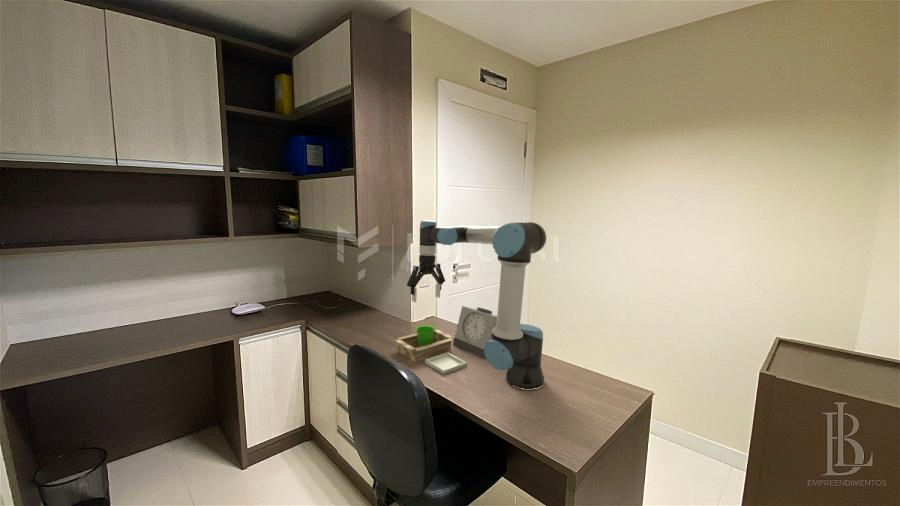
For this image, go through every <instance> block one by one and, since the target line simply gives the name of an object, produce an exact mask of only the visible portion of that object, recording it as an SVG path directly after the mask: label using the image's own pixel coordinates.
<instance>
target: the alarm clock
mask: <svg viewBox="0 0 900 506" xmlns="http://www.w3.org/2000/svg"><path fill="white" fill-rule="evenodd" d="M458 318H459V319H458V322H457V326H456V331H455V335H454V339H453V340H454V341H452V346H453V347H455V348H458V349H461V351H465V352H467V353H469V354H471V355H473V356H476V357H478V356H479V358H481V359H483V360H487V359H486V357H485V353H484V346H485V344H486V343H487V342H488V341H489V340H491V335H492V329H493V328H495V327H496V325H497V314H493V311H492V310H490V309H487V308H483V307H477V308H473V307H468V306H464V305H461V310H460V315H459V317H458Z"/></svg>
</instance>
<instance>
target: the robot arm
mask: <svg viewBox="0 0 900 506" xmlns="http://www.w3.org/2000/svg"><path fill="white" fill-rule="evenodd" d="M546 242H547V233H546V231H545V229H544V228H543V226H541V225H540V224H539V223H536V222H529V221H528V222H510V223H508V222H507V223H505V224H502V225H500V226H485V225H484V226H481V225H479V226H477V225H458V226H457V225H456V226H453V225H452V226H449V225H448V226H441V225H440V226H439V225H438V224H437V221H436V220H433V219H431V220H430V219H423V220H421V221H420V224H419V248H418V249H419V251H418V252H419V255H418V263H419V265H415V264H414V265H413V266H412V267H413V268H412V271H411V274H410V276H409V279H408V281H407V283H406V286H407V287H409V288H410V295H411V301H412V302H414V303H417V298H418V297H417V295H418V294H417V293H418V292H417V291H418V290H417V285H418V284H419V282H420V281H421V279H423V277H424V276H425V275H426V276H427V275H431V276H432V277H433V278H434V280H435V281H436V283H435V293H434V296H435V297H436V298H439V299H440V298H441V291H442V286H443V284H444V283H445V282H446V279H445V277H444V274H443V270H442V268H441V267H442V266H441V263H438V262H436V254H437V244H439V245H443V246H452V245H453V244H459V243H462V244H463V243H466V244H467V243H469V244H471V243H472V244H483V245H485V244H486V245H492V248H493V250H494V252H495V253H496V255H497V261H498V262H499V263H500V264H501V265H500V277H499V278H500V280H499V290H498V291H499V292H498V301H497V302H498V303H497V314H496V316H497V325H496V327H495V328H493V329H492V335H491V340H489V341H488V342H487V343H486V344H485V346H484V353H485V357H486V359H485V360H487V362H488V364H489V365H490V366H491V367H492V368H494V370H498V371H505V370H507V371H506V373H505V380H507V381H506V383H507V384H509V383H510V384H511V385H514V386H516V387H519V388H524V389H533V388H538V387H540V386H542V385H543V383H544V384H545V376H544V374H543V369H542V365H541V364H542V356H543V345H544V344H543V342H544V332H543V330H542V329H541V328H540V327H537V326H534V325H531V324H525V323H521V320H522V308H523V307H522V306H523V298H524V290H525V289H524V287H525V276H526V268H527V266H528V265H529V264H530V263H531V258H532V255H533V254H536V253H538V252H539V251H541V250H542V249H543V248H544V247H545V245H546ZM510 384H509V385H510ZM511 385H510V386H511ZM543 386H544V385H543Z"/></svg>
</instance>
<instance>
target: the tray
mask: <svg viewBox="0 0 900 506" xmlns="http://www.w3.org/2000/svg"><path fill="white" fill-rule="evenodd" d="M467 362H468V361H467ZM467 362H466V361H465V360H463V359H461V358H459V357H458V356H456V355H453V354H452V353H451V352H449V351H447V352H444V353H441V354H438V355H435V356H431V357H428V358H425V359H424V364H426V365H428V367H430V368H432V369H433V370H435V371H436V372H439V373H440V374H442V375H444V376H445V375H447V374H449V373H452V372H455V371H458V370H460V369H463V368H466V367H467V365H468V363H467Z"/></svg>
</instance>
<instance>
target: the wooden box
mask: <svg viewBox="0 0 900 506" xmlns="http://www.w3.org/2000/svg"><path fill="white" fill-rule="evenodd" d="M454 338H455V336H453V335H451V334H448V333H446V332H444V331H442V330H440V329H435V331H434V334H433V340H432V344H428V345H425V346H421V347H419V344H418V336H417V332H416V333H412V334H408V335H404V336H398V337H396V339H395V340H394V342H395V343H397V344H398V348H397V349H398V353H400V354H402V355H403V356H404V357H406V358H407V359H409V360H411V361H412V362H413V363H414V362H418V361H421V360H425V359H428V358H431V357H434V356H438V355H441V354H444V353H447V352H451V350H452V342H454Z"/></svg>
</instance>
